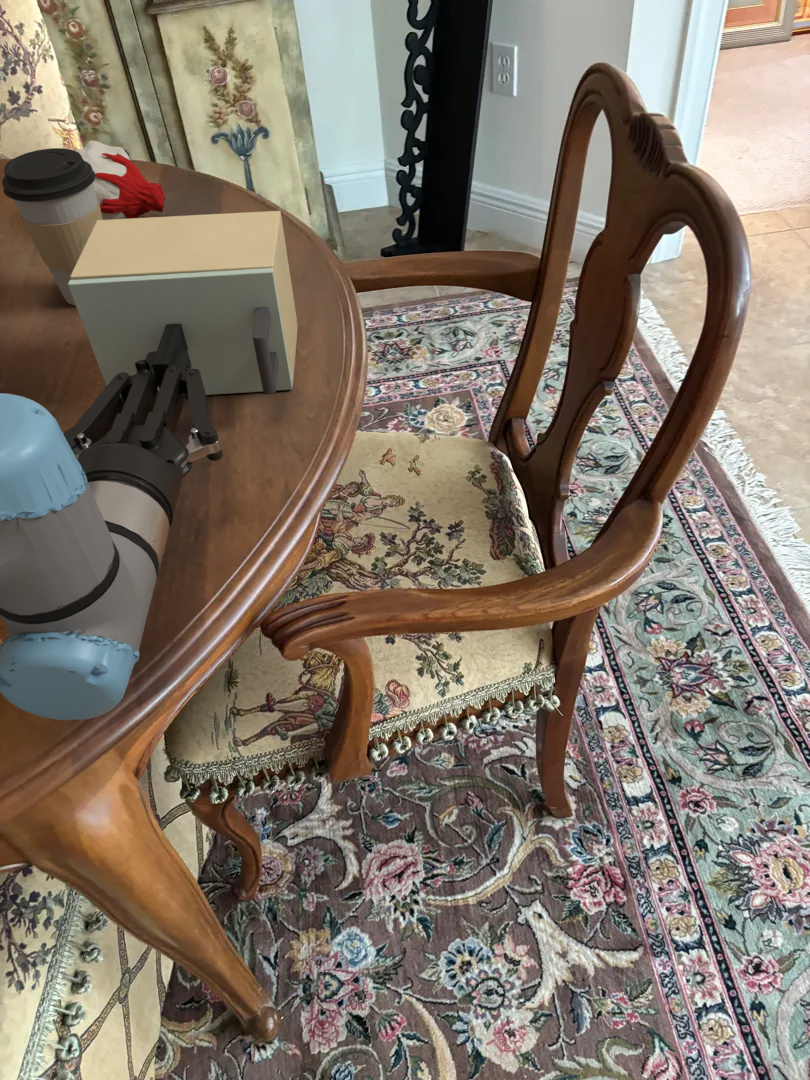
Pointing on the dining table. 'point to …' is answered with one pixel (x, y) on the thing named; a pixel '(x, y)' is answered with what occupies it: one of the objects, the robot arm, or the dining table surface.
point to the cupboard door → (190, 325)
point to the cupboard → (194, 252)
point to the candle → (120, 183)
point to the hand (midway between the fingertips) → (177, 337)
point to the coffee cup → (55, 206)
